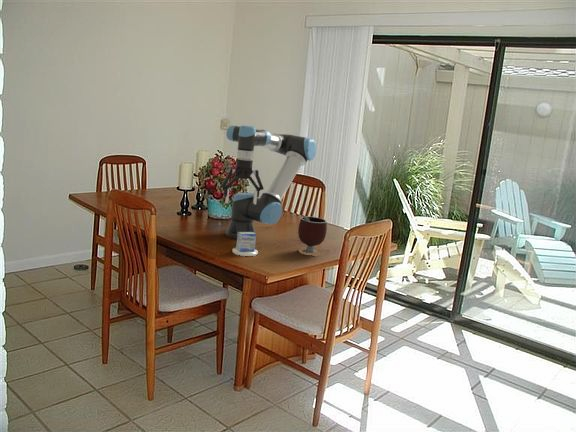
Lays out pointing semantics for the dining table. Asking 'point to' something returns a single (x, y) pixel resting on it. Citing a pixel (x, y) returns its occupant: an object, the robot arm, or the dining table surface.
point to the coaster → (250, 253)
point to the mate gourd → (312, 232)
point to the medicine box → (246, 241)
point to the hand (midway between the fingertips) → (240, 203)
